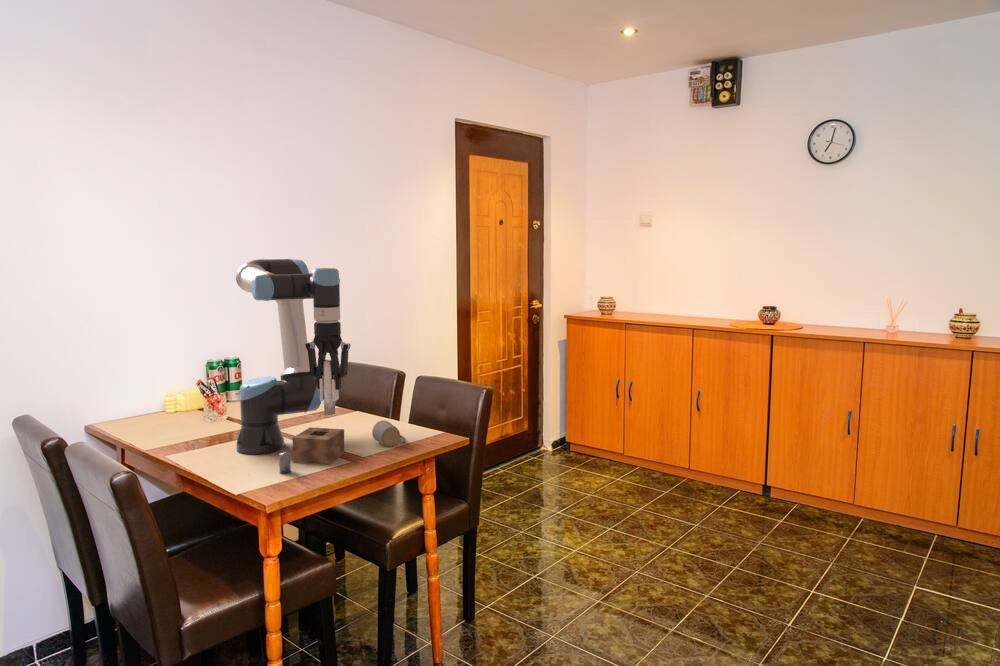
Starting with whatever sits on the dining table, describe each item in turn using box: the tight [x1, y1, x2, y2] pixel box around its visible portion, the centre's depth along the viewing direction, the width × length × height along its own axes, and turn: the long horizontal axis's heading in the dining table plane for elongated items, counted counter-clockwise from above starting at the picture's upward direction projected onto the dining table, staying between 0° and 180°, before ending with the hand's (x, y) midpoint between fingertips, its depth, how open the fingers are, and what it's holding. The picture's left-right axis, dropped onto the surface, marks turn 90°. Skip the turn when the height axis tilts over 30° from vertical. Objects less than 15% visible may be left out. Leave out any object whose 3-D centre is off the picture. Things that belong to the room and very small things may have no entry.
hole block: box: [292, 427, 346, 466], centre depth 215 cm, size 12×12×8 cm
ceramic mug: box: [372, 420, 407, 448], centre depth 230 cm, size 11×8×8 cm
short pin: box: [278, 450, 292, 475], centre depth 201 cm, size 3×3×6 cm
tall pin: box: [323, 359, 336, 416], centre depth 198 cm, size 3×3×16 cm
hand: (329, 399), depth 198 cm, fingers closed on tall pin, 3 cm apart
